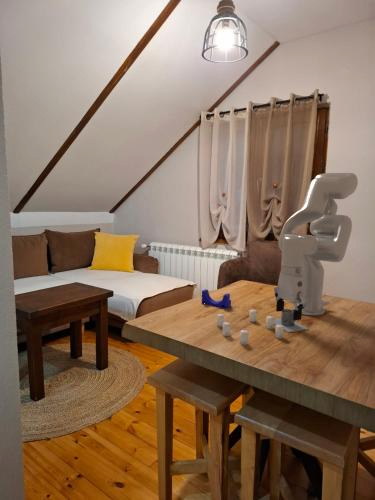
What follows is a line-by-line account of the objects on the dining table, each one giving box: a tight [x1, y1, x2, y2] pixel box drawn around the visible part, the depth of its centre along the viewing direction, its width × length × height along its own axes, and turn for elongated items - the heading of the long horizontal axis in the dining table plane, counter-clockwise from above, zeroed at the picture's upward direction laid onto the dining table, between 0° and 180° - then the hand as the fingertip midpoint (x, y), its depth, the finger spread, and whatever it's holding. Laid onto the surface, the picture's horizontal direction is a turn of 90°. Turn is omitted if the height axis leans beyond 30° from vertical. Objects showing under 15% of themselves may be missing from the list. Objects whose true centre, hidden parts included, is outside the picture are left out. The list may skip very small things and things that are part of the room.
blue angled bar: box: [201, 289, 232, 310], centre depth 150 cm, size 12×4×6 cm, turn 57°
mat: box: [274, 317, 309, 334], centre depth 129 cm, size 9×12×1 cm
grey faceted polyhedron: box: [280, 308, 294, 327], centre depth 128 cm, size 5×4×5 cm
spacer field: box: [216, 309, 284, 346], centre depth 122 cm, size 21×19×4 cm
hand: (288, 315), depth 128 cm, fingers open, 9 cm apart
